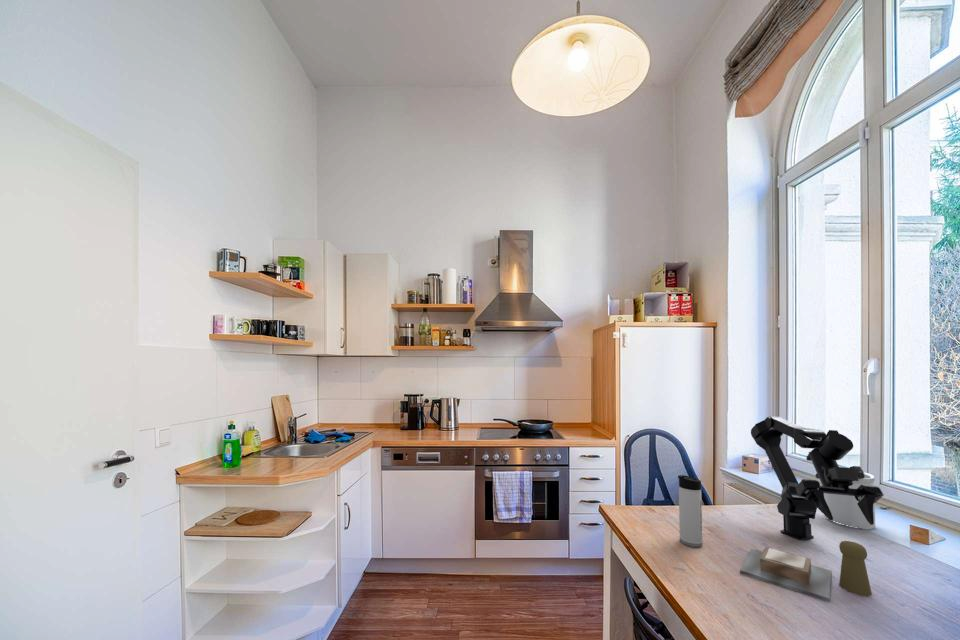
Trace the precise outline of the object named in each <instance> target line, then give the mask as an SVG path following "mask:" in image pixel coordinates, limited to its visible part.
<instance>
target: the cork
mask: <svg viewBox="0 0 960 640" xmlns="http://www.w3.org/2000/svg"><path fill="white" fill-rule="evenodd" d="M838 546H839V551H840V553H841V554H842V556H841V566H840V573H839V575H840V576H839V585H838V586H839V587H840V588H841V589H843V590H845V591H847V592H849V593H852V594H855V595H859V596H863V597H870V596H872V594H873V593H872V588H871V585H870V579H869V574H868V570H867V567H866V561H865V559H866V560H867V557H868V552H867V549H866V547H865V546H863V544H860V543H857V542H854V541H850V540H841V541H840V543H839V545H838Z"/></svg>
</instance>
